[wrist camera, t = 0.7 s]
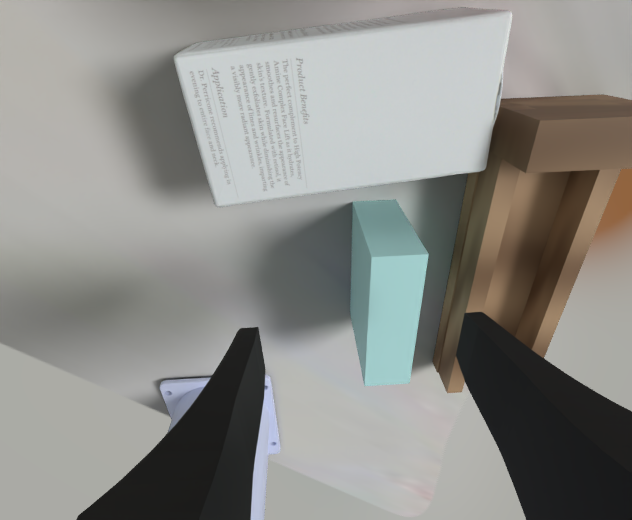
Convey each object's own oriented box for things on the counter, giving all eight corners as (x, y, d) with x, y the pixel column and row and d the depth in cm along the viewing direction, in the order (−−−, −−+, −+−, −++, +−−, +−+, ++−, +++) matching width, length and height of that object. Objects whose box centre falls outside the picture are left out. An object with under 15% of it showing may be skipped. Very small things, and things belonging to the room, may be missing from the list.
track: (512, 357, 28) (552, 416, 23) (432, 361, 27) (457, 422, 23) (603, 94, 18) (698, 113, 14) (482, 99, 18) (540, 120, 14)
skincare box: (220, 172, 19) (446, 144, 20) (210, 213, 16) (487, 177, 16) (186, 34, 16) (464, 5, 16) (163, 47, 12) (522, 9, 13)
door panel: (385, 310, 25) (409, 383, 20) (350, 313, 25) (364, 386, 20) (395, 199, 21) (428, 254, 15) (352, 201, 21) (371, 257, 15)
